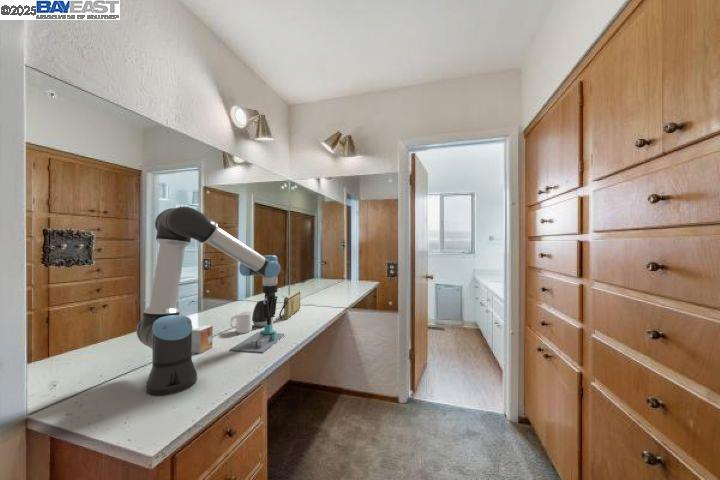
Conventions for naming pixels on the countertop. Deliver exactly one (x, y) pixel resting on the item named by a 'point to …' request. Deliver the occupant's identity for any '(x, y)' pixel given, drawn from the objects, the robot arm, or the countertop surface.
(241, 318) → the mug
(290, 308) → the clutch purse
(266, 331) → the lock collar
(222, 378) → the countertop surface
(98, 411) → the countertop surface
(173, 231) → the robot arm
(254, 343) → the swing arm
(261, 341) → the tongs base
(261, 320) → the pump dispenser
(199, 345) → the small box
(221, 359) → the countertop surface
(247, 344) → the mat
